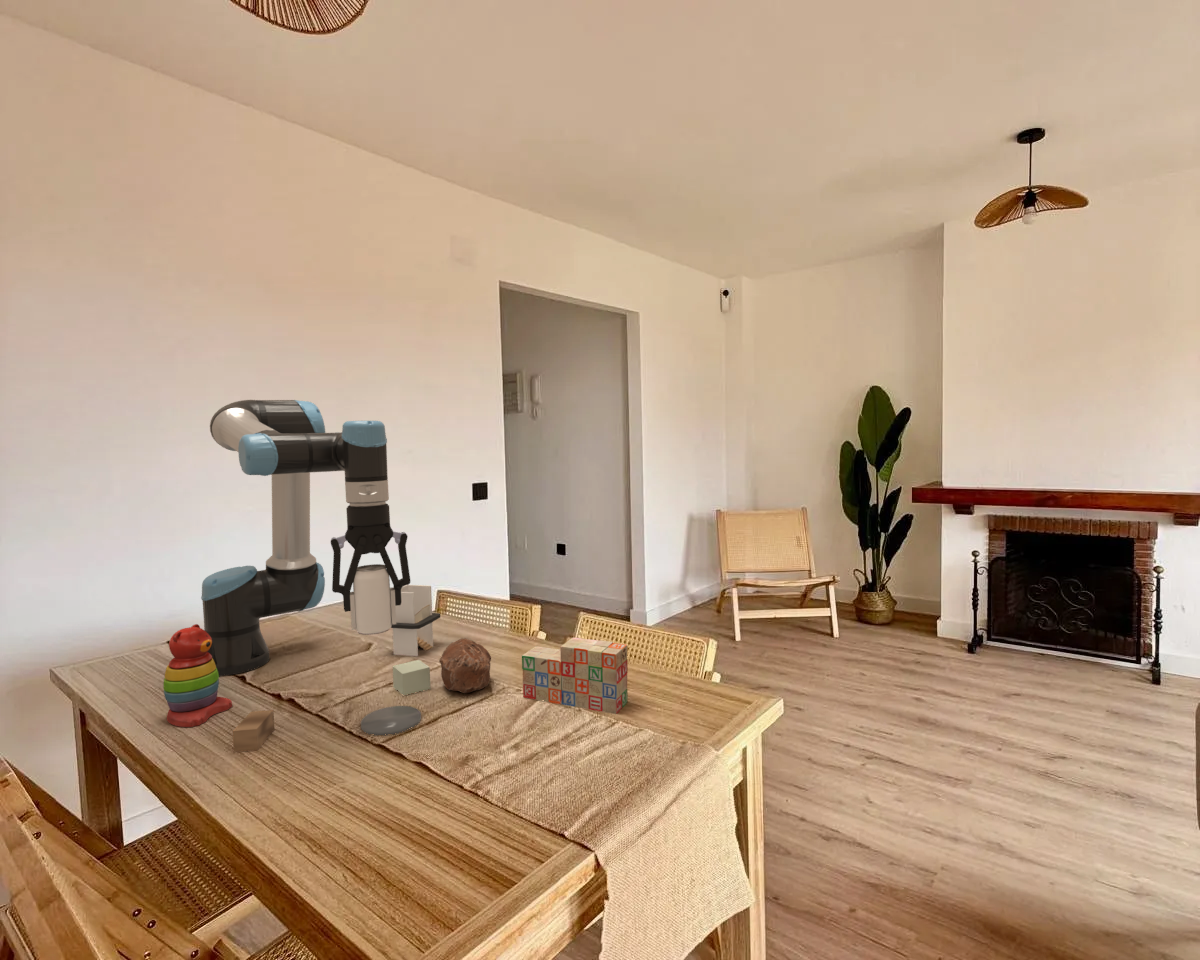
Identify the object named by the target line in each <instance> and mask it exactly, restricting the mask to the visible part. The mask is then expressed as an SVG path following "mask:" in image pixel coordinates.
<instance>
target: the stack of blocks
mask: <svg viewBox="0 0 1200 960" xmlns="http://www.w3.org/2000/svg"><path fill="white" fill-rule="evenodd" d="M521 670H522V694H523V697H522V698H525V699H531V700H537V701H540V700H544V701H543V702H545V701H547V703H551V704H556V705H557V704H558V705H564V706H570V707H574V708H581V709H585V710H593V711H598V712H602V713H609V714H613V715H617V714H618V713H619V712H620V711H621V710H622V709H623V707H625V705H626V704H627V703H628V699H629V697H628V695H629V694H628V670H629V669H628V644H624V643H618V642H617V643H616V642H614V641H608V640H598V639H591V638H590V639H589V638H587V639H586V638H580V637H571V638H570V639H569V640H567V641H566V642H565V643H563V644H562V645H560V648H559V649H558V648H551V647H545V646H534V647H533V648H531V649H529V650H528V651H527V652H525V653H523V654H522V655H521Z"/></svg>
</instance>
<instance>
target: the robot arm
mask: <svg viewBox="0 0 1200 960" xmlns="http://www.w3.org/2000/svg"><path fill="white" fill-rule="evenodd" d="M323 418H324V417H323V415H322V413H321V411H320V409H319V407H318V406H317V404H316V403H313V402H311V401H308V400H307V401H305V400H296V399H262V400H261V399H244V400H238V401H234V402H231V403H228V404H225V405H224V406H222V407H221V408H219V409H218V410H217V411H216V412H215V413H214V414H213V416H212V417H211V419H210V421H209V422H210V423H209V431H210V434H211V437H212V439H213V440H214V441H215V442H216V444H218V445H219V446H221V448H224V449H226V450H229V451H232V452H236V453H238V460H239V461H238V462H239V466H240V468H241V471H242V472H243V473H244V474H245V475H247V476H262V477H263V476H264V477H266V476H267V477H268V476H270V475H271V535H272V536H271V538H272V539H271V542H272V543H271V544H272V545H271V549H272V553H271V554H272V555H270V557H268V558H267V559H266V561H265V569H262V570H258V569H257V568H256V566H254V565H245V566H244V565H243V566H235V567H230V568H227V569H222V570H220V571H216V572H214V573H212V574H210V575H207V576H206V577H205V578H204V579H203V581H202V584H201V597H200V599H201V601H202V613H203V614H202V616H203V630H205V631H206V632H207V633H208V634H209V635H210V637H211V638H212V644H211V647H210V649H209V650H208V653H210V654H211V655H212V658H213V660H214V662H215V665H216V668H217V670H218V674H219V677H220V676H230V675H236V674H237V675H238V674H241V673H242V674H243V673H246V672H249V671H248V670H250V671H252V670H251V669H253V670H255V669H254V668H256V669H258V668H260V667H262V666H264V665H266V664H267V663H269V661H270V649H269V647H268V644H267V643H266V641H265V638H264V636H263V633H262V632H261V627H260V625H261V624H260V619H261V618H267V617H272V616H278V615H284V614H289V613H296V612H302V611H304V610H309V609H312V608H313V609H314V608H315V607H317V606H318V605H319V604H320V602H321V601H322V599H323V597H324V593H325V586H326V579H325V571H324V568H323V566H322V564H321V563H320V562H317V558H316V557H315V556H314V555H313V554H312V553H311V515H310V514H311V473H327V472H328V473H329V472H344V485H345V486H344V489H345V503H347V504H349V505H348V506H347V507H346V523H347V524H346V525H347V526H346V527H347V528H346V531H345V533H344V535H341V536H339V537H334V536H333V537H331V539H330V545H331V549H332V552H333V557H332V558H333V562H332V584H331V591H332V592H333V593H338V594H341V595H342V599H343V600H342V601H343V611H344V612H350V624H351V625H350V626H351V630H352V631H353V630H355V631H356V618H355V599H354V591H351V590H352V587H353V581H354V577H355V574H356V571H357V567H359V564H360V561H361V559H362V555H367V554H370V553H372V554H380V557H381V559H382V562H383V565H385V567H386V569H387V571H388V574H389V579H390V582H391V584H392V585H393V587H390V598H391V620H392V625H393V624H396V606H397V605H401V588H402V587H403V586H405V585H411V575H410V569H409V567H410V566H409V561H408V555H407V553H408V552H407V541H408V534H407V533H406V532H405V531H403V532H402V531H400V532H398V531H394V530H393V529H392V526H391V517H390V515H391V514H390V505H389V504H388V503H387V502H388V500H389V497H390V495H389V494H390V493H389V479H388V477H389V476H388V455H387V454H388V450H387V448H388V447H387V444H388V438H387V433H386V427H385V424H384V422H383V421H380V420H346V421H344V422H343V424H342V430H341V431H342V432H338V431H337V432H327V431H326V426H325V422H324V419H323ZM392 538H394V542H395V543H396V545H397V549H398V555H399V562H400V568H401V577H402V578H400V579H399V578H398V575H397V573H396V571H395V568H394V566H393V564H392V561H391V559H390V556H389V554H388V552H387V549H386V547H387V545H388V544H389V542H390V541H391V539H392ZM345 542H348V543H349V545H350V546H351V547H352V548H353V549H354V551H353V554H352V558H351V562H350V564H349V566H348V567H349V568H348V570H347V574H346V576H345V577H346V578H345V579H344V580H345V581H344V584H343V585H342V584H340V582H341V581H340V578H341V561H342V560H341V559H342V558H341V555H342V553H341V552H342V551H341V550H342V549H343V548H344V546H345ZM245 671H246V672H245Z"/></svg>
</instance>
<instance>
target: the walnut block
mask: <svg viewBox="0 0 1200 960" xmlns="http://www.w3.org/2000/svg"><path fill="white" fill-rule="evenodd" d="M274 713H275V712H274V709H269V710H268V709H267V710H257V711H255V710H253V711H250V712H249V713H248V715H246V716H245V717H244V718H243V719H242V721H241V722H239V724H238V725H237V726H236V727H234V729H233V730H232V743H233V744H232V745H233V752H234V753H238V752H239V753H240V752H250V751H251V752H252V751H259V750H260V748H261V747H262V746H263V745H264V744H265V742H266V741H267V739H268V738H269V737H270V736H271V735H272V734H273V733H274V731H275V730H276V729H275V728H276V727H275V714H274Z"/></svg>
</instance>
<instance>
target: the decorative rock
mask: <svg viewBox="0 0 1200 960" xmlns="http://www.w3.org/2000/svg"><path fill="white" fill-rule="evenodd" d="M491 661H492V657H491V654H490V653H489V651H488V650H487V648H485V647H484V645H481V643H480V644H479V643H477V642H475V641H473V640H470V639H468V638H466V637H464V638H459V639H457V640H455V641H453V642H451V643H449V644H448V645H447V647H446V648H445V650H444V651H443V653H442V654H441V656H440V657H439V663H440V666H441V667H440V668H441V674H440V677H441V681H442V682H443V683H442V684H443V685H444V686H445V688H446V689H447V690H448V691H454V692H457V691H458V692H460V693H463V694H468V693H469V694H470V693H471V692H475V691H480V690H481V689H484V687H488V685H489V683H490V680H491V673H490V672H491V664H492V663H491Z"/></svg>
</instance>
